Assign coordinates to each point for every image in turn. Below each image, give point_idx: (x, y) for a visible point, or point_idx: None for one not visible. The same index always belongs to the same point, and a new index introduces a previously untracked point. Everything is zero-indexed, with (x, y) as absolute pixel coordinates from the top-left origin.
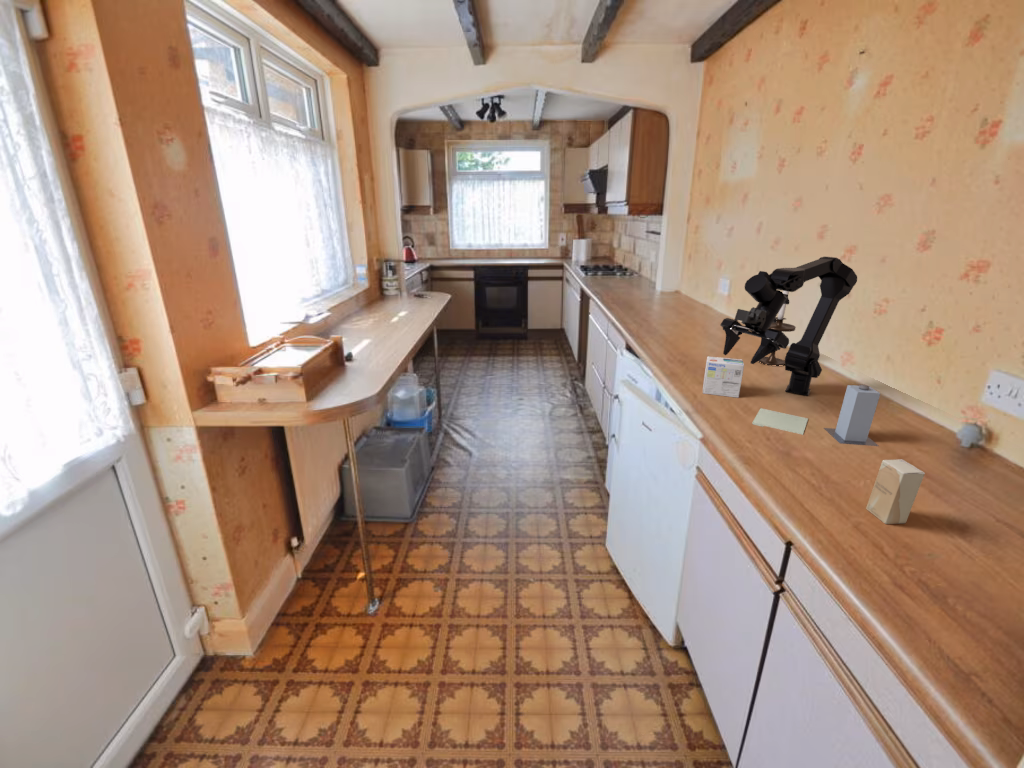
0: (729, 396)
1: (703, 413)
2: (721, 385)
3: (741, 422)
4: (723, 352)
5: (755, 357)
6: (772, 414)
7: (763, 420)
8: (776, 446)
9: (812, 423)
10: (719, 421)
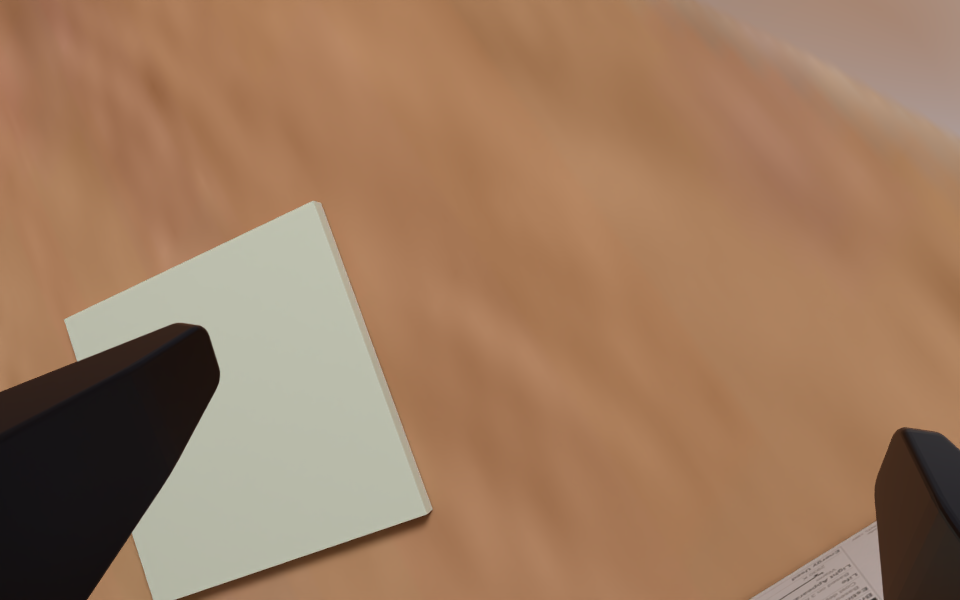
0: (764, 590)
1: (638, 40)
2: (869, 580)
3: (377, 163)
4: (949, 444)
5: (62, 369)
6: (313, 466)
7: (288, 297)
8: (86, 44)
9: (130, 574)
10: (471, 29)
